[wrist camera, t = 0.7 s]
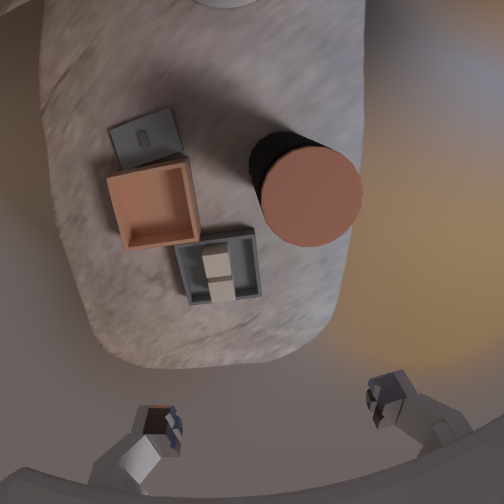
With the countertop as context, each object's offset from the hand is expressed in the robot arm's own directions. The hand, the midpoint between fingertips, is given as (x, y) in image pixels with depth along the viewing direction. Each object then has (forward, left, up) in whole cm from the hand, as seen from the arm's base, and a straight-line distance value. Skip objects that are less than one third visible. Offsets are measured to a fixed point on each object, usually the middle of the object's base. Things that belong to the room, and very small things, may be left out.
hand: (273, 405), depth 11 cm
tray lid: (-8, -13, -39) cm, 42 cm away
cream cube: (+12, -5, -38) cm, 40 cm away
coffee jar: (-1, +7, -39) cm, 40 cm away
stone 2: (+17, -5, -38) cm, 42 cm away
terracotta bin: (+2, -13, -39) cm, 41 cm away
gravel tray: (+15, -5, -39) cm, 42 cm away
